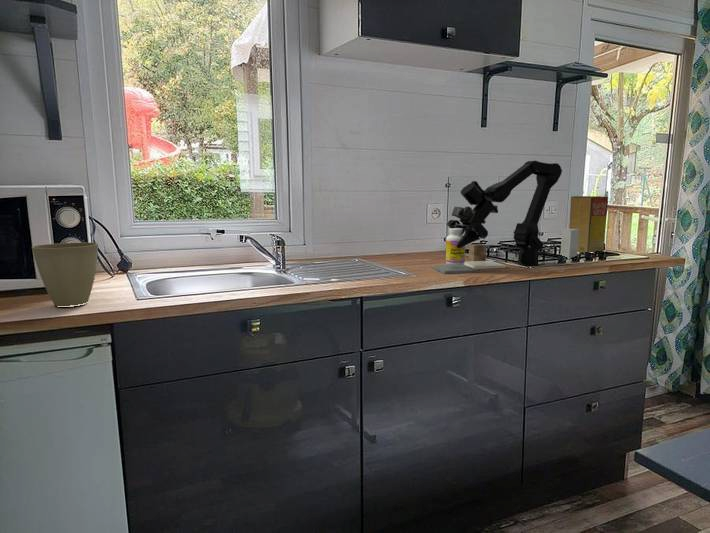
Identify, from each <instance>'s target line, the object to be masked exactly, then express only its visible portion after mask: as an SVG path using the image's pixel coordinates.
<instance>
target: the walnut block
mask: <svg viewBox="0 0 710 533" xmlns="http://www.w3.org/2000/svg"><path fill="white" fill-rule="evenodd" d="M468 261H487V244H483V243H469V244H468Z"/></svg>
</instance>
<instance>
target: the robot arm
mask: <svg viewBox="0 0 710 533" xmlns="http://www.w3.org/2000/svg"><path fill="white" fill-rule="evenodd" d="M562 173H563V169H562V167H561V165H560V164H559V163H557V162H553V163H551V162H550V163H547V162H542V161H538V160H528V161H526V162H525V163H524V164H523V165H522V166H520V167H519V168H518V169H517V170H515V171H514V172H513V173H511V174H509V175H508V176H507V177H506V178H504V179H503V180H502V181H499V182H496V183H494V184H492V185H489V186H488V187H486V188H485V189H483V188H482V187H481V186H480V185H479V183H478V181H476V180H474V181H473V180H472V181H471V182H470V183H469V184H467V185H466V186H464V187H463V188H462V189H461V190H460V195H461V196H462V197H463V198H464V199H465V200H466V202H467V203H468V204H469V205H470V206H464V207H462V206H454V207H453V210H452V212H451V216H452V217H454V218H455V217H456V218H457V219H459V220H457V219H456V220H455V219H449V220H448V222H447V223H446V225H447V226H448V227H449V229H450V228H461V229H463V232H462V236H463V237H462V239H461V240H460V241H459V243H458V245H457V248H461V247H463V246H465V247H466V245H469V244H472V243H474V242H475V241H478V240H479V241H480V240H481V239H484V240H485V239H486V238H487V237H488V236H489V231H488V230H487V228H486V227H485V226H484V225H485V224H486V223H487V221H486V219H487V218H488V217H489V215H490V214H491V213H492V214H498V213H499V209H498V205H495V204H494V203H503V202H504V201H506V200H507V198H508V197H509V196H510V195H511V192H512V191H513V190H514V189H515V188H516V187H517V186H518V185H520V184H521V183H522V182H524V181H525V180H527V179H528V178H529V177H530V176H531V175H535V176H536V177H535V180H536V188H535V190H534V193H533V196H532V199H531V202H530V204H529V207H528V210H527V212H526V216H525V218H524V220H523V221H522V222H521V223H519V222H518V223H516V226H515V229H514V231H513V232H512V234H513V240H514V242H515V244H516V248H519V251H518V253H517V262H516V264H519V265H520V266H525V267H529V266H531V267H533V266H541V263H539V257H540V256H539V254H540V251H541V250H542V249H543V246H544V243H543V242H542V240H541V239H540V238H539V234H540V230H539V225H538V224H539V221H540V220H541V216H542V213H543V211H544V209H545V205H546V202H547V199H548V197H549V194H550V191H551V188H552V187H554V185H556V183H558V181H559V179H560V177H561V175H562ZM473 205H474V207H473V208H472V207H471V206H473Z"/></svg>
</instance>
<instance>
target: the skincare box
mask: <svg viewBox="0 0 710 533" xmlns="http://www.w3.org/2000/svg"><path fill="white" fill-rule="evenodd" d="M578 236H579V229H569V228H566V229H562V230H561V238H560V242H561V244H560V253H559V254H560V255H562V256H565V257H567V258H568V259H567V260H572V259H571V258H572V257H575V256H577V257H578V253H577V250H578Z"/></svg>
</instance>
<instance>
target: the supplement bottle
mask: <svg viewBox="0 0 710 533" xmlns="http://www.w3.org/2000/svg"><path fill="white" fill-rule="evenodd" d="M448 232H449V235H447V236H446V240H445V244H446V245H445V265H452V266H459V265H464V263H465V262H466V245H465V246H463V247H461V248H457V245H458V243H459V241H460V240H461V239H462V237H463V236H464V235H463V234H462V232H463V229H461V228H450V227H449V228H448Z"/></svg>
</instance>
